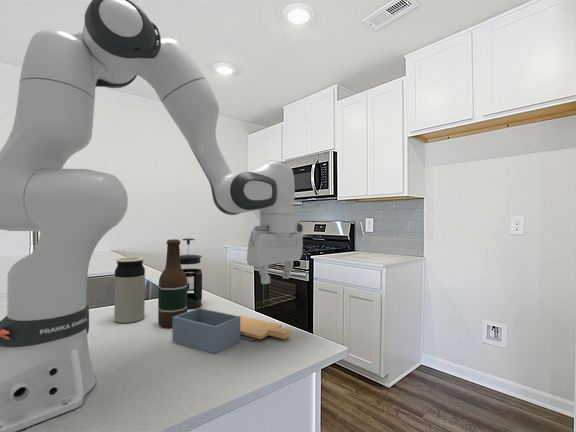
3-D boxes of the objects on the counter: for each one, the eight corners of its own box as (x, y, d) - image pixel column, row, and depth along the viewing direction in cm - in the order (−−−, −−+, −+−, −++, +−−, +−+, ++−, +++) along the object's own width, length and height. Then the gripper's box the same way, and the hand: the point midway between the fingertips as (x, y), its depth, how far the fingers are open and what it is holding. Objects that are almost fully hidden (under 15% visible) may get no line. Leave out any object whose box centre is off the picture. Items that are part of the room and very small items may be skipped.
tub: (214, 354, 72) (215, 327, 72) (172, 341, 79) (172, 316, 79) (240, 340, 80) (240, 316, 80) (199, 330, 87) (199, 307, 87)
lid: (277, 345, 76) (277, 337, 76) (216, 329, 86) (216, 322, 86) (296, 332, 84) (297, 325, 84) (239, 319, 94) (239, 313, 94)
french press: (166, 306, 109) (166, 238, 109) (189, 300, 117) (190, 237, 116) (187, 312, 102) (188, 240, 102) (211, 305, 110) (211, 238, 110)
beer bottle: (152, 325, 90) (152, 240, 90) (173, 317, 97) (174, 238, 96) (171, 330, 86) (172, 241, 86) (192, 322, 93) (193, 239, 93)
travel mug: (144, 321, 93) (145, 259, 93) (113, 325, 90) (114, 261, 90) (144, 313, 100) (144, 256, 100) (115, 317, 97) (115, 257, 97)
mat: (252, 341, 79) (252, 340, 79) (210, 331, 86) (210, 329, 86) (276, 328, 88) (276, 327, 88) (236, 319, 95) (236, 318, 95)
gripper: (262, 226, 71) (262, 288, 71) (306, 226, 88) (306, 276, 88) (240, 225, 74) (240, 285, 74) (287, 226, 92) (286, 274, 91)
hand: (276, 280), depth 81 cm, fingers open, 8 cm apart
